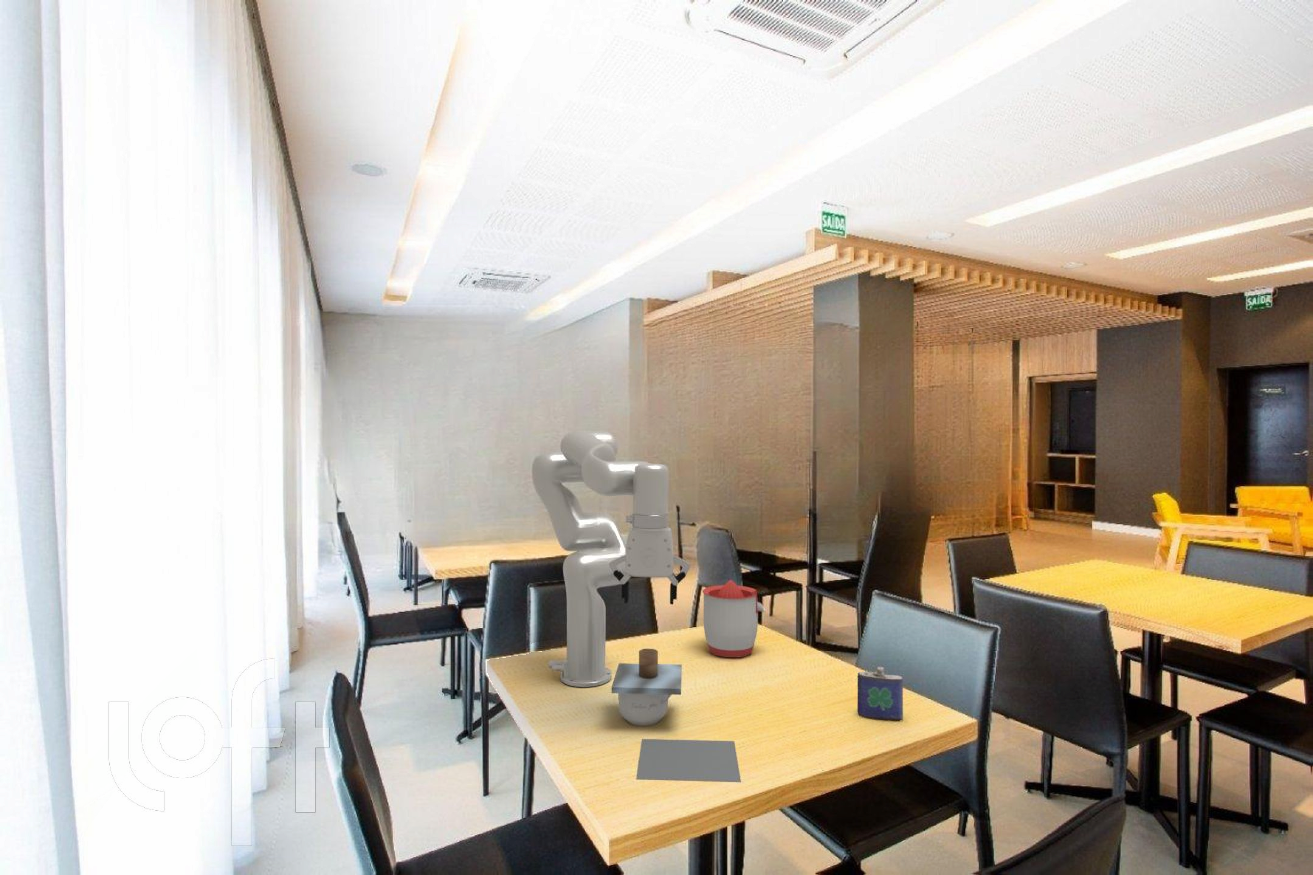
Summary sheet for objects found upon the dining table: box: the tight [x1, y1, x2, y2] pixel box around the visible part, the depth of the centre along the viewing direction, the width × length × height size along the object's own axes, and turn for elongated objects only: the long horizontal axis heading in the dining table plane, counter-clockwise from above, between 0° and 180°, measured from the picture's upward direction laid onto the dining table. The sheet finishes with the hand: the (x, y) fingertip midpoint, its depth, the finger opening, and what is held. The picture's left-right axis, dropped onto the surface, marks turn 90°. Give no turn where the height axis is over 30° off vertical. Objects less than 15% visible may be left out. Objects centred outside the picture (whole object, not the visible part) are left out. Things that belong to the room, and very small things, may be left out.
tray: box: [635, 738, 742, 783], centre depth 118 cm, size 18×15×1 cm
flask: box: [857, 666, 904, 722], centre depth 137 cm, size 9×3×11 cm, turn 74°
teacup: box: [617, 693, 672, 727], centre depth 136 cm, size 14×11×8 cm
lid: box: [611, 648, 683, 696], centre depth 136 cm, size 14×14×6 cm
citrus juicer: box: [702, 579, 766, 658], centre depth 179 cm, size 16×17×20 cm
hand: (649, 602), depth 137 cm, fingers open, 9 cm apart
